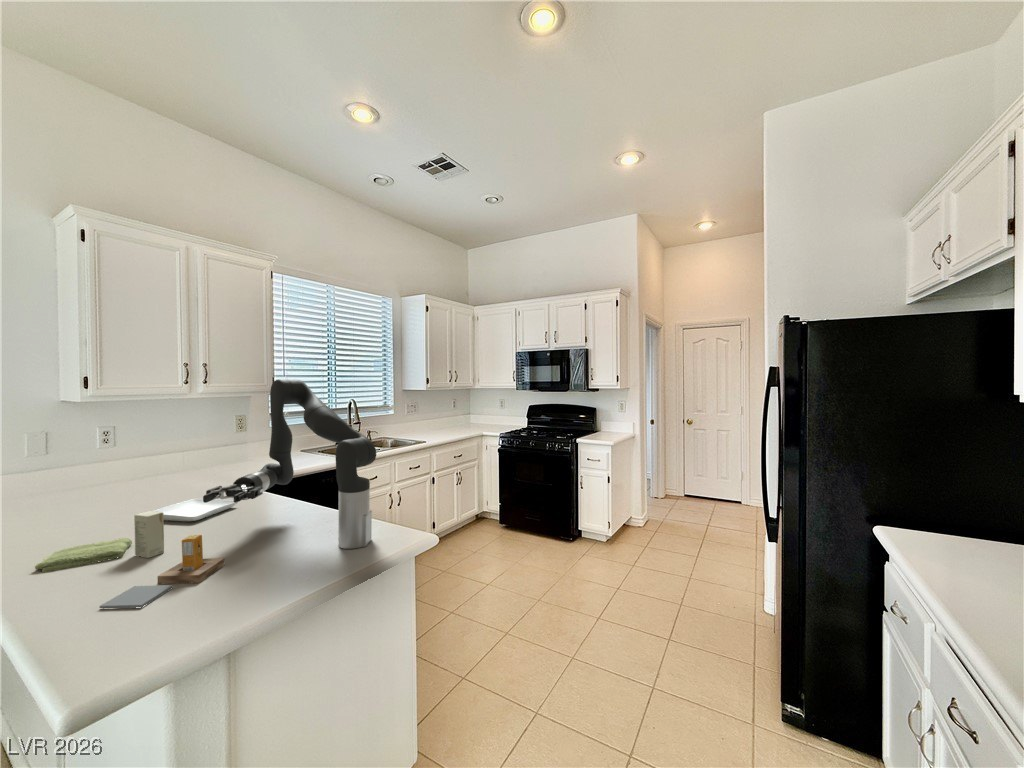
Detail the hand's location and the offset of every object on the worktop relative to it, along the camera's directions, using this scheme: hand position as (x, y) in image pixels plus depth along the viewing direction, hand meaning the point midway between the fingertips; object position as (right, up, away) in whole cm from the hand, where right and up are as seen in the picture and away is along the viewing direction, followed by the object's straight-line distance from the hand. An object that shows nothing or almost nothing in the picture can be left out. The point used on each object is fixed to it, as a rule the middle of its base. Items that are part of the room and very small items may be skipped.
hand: (219, 499), depth 119 cm
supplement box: (+1, -17, -11) cm, 20 cm away
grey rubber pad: (-3, -17, -23) cm, 29 cm away
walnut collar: (+1, -17, -11) cm, 20 cm away
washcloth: (-38, -17, -1) cm, 42 cm away
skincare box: (-22, -17, +1) cm, 28 cm away
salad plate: (-38, -17, +39) cm, 57 cm away
